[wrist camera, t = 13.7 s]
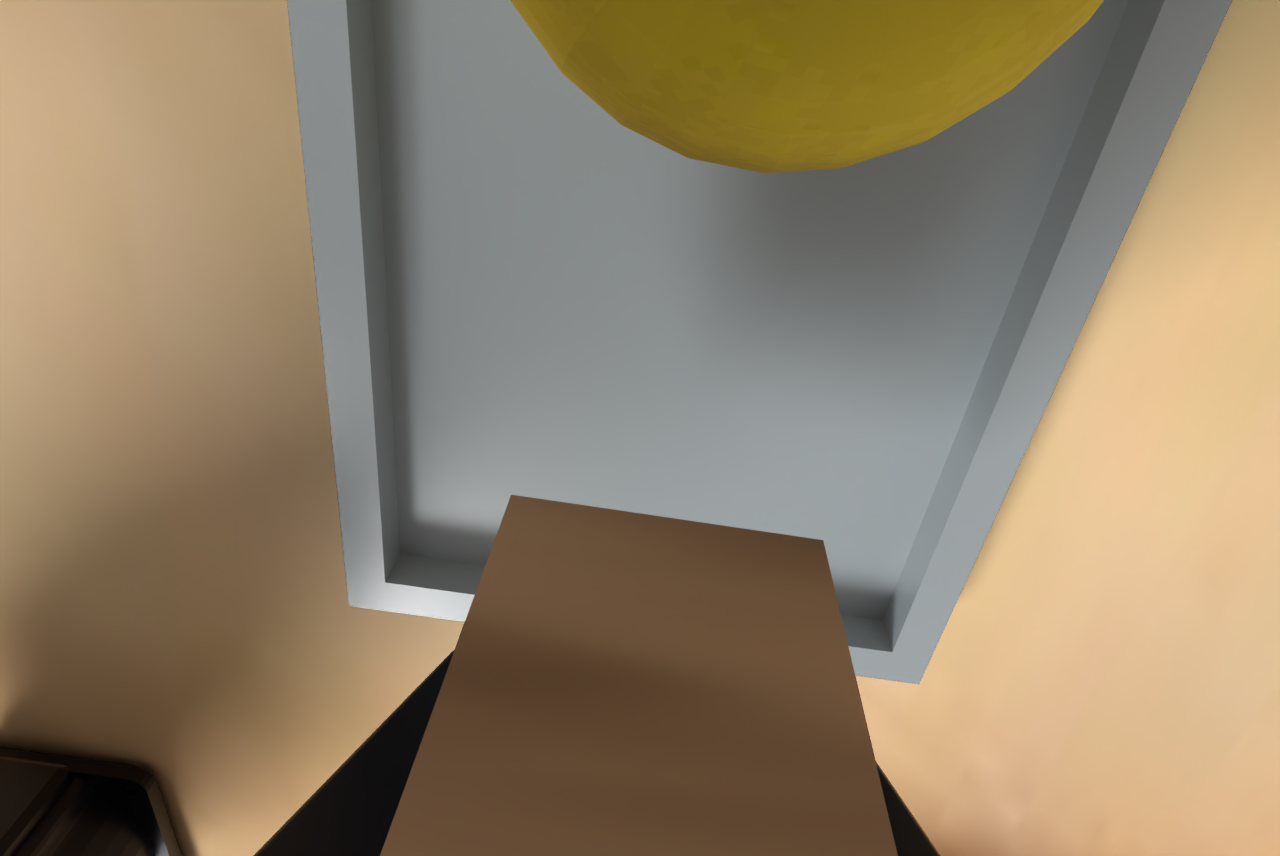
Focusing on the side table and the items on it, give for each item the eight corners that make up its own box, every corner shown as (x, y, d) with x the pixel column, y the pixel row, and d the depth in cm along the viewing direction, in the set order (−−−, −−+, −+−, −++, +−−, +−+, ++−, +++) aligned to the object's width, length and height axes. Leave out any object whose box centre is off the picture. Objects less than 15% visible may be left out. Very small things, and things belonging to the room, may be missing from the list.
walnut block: (756, 741, 12) (794, 1188, 7) (498, 705, 11) (381, 1134, 7) (822, 540, 10) (930, 993, 5) (511, 494, 9) (359, 914, 5)
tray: (901, 631, 17) (919, 684, 16) (375, 559, 17) (348, 605, 16) (1417, -601, 8) (1561, -720, 7) (276, -772, 8) (192, -927, 6)
